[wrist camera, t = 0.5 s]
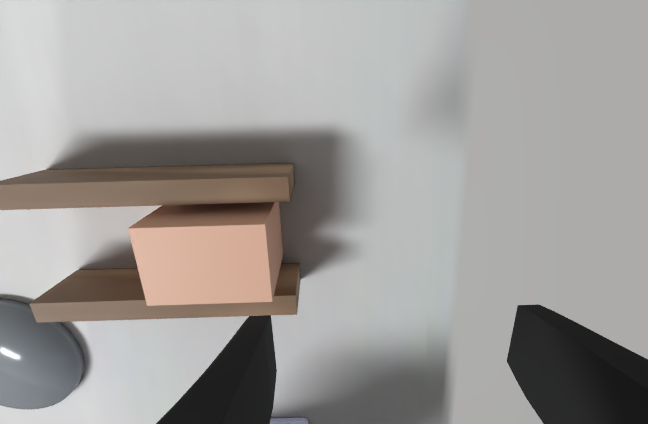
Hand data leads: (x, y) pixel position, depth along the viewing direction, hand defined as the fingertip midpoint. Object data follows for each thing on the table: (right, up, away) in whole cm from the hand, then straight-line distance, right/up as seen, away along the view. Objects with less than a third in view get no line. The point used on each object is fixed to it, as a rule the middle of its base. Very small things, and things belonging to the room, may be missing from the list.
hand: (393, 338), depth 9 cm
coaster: (-23, -6, +13) cm, 27 cm away
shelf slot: (-11, +3, +10) cm, 15 cm away
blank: (-8, +3, +10) cm, 13 cm away
